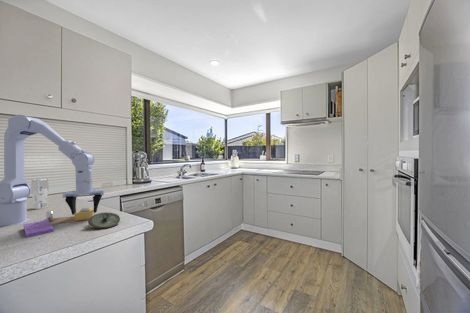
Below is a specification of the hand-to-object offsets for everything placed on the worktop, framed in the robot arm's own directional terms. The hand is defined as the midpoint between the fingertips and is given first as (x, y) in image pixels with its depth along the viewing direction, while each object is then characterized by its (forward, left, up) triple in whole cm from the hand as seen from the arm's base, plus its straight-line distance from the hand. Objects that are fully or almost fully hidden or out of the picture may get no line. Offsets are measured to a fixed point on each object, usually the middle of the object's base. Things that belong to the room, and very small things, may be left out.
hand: (84, 213), depth 90 cm
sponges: (-11, -11, -2) cm, 16 cm away
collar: (0, 0, -2) cm, 2 cm away
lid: (+10, -12, -3) cm, 16 cm away
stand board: (-6, 0, -3) cm, 7 cm away
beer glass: (-29, +35, -3) cm, 46 cm away
